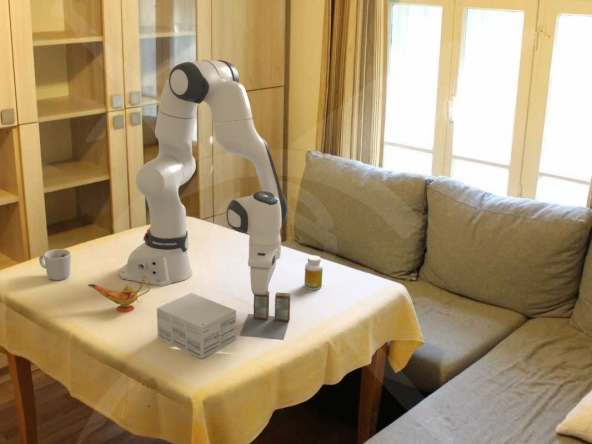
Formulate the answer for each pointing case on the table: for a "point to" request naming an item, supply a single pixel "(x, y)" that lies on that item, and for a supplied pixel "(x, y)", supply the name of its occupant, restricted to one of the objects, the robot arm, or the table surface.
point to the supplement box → (196, 325)
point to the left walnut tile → (261, 306)
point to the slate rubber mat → (264, 328)
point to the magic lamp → (121, 296)
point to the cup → (56, 263)
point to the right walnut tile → (282, 307)
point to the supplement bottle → (313, 273)
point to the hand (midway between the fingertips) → (263, 295)
